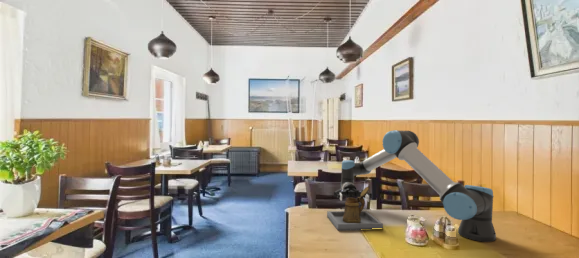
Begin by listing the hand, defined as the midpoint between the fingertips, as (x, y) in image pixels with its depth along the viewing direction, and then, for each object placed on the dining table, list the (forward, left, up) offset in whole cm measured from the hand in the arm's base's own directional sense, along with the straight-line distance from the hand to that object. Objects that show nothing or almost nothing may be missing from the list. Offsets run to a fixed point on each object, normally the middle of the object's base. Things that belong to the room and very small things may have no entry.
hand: (354, 198), depth 166 cm
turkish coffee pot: (-1, -1, -11) cm, 12 cm away
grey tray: (-1, +1, -12) cm, 12 cm away
